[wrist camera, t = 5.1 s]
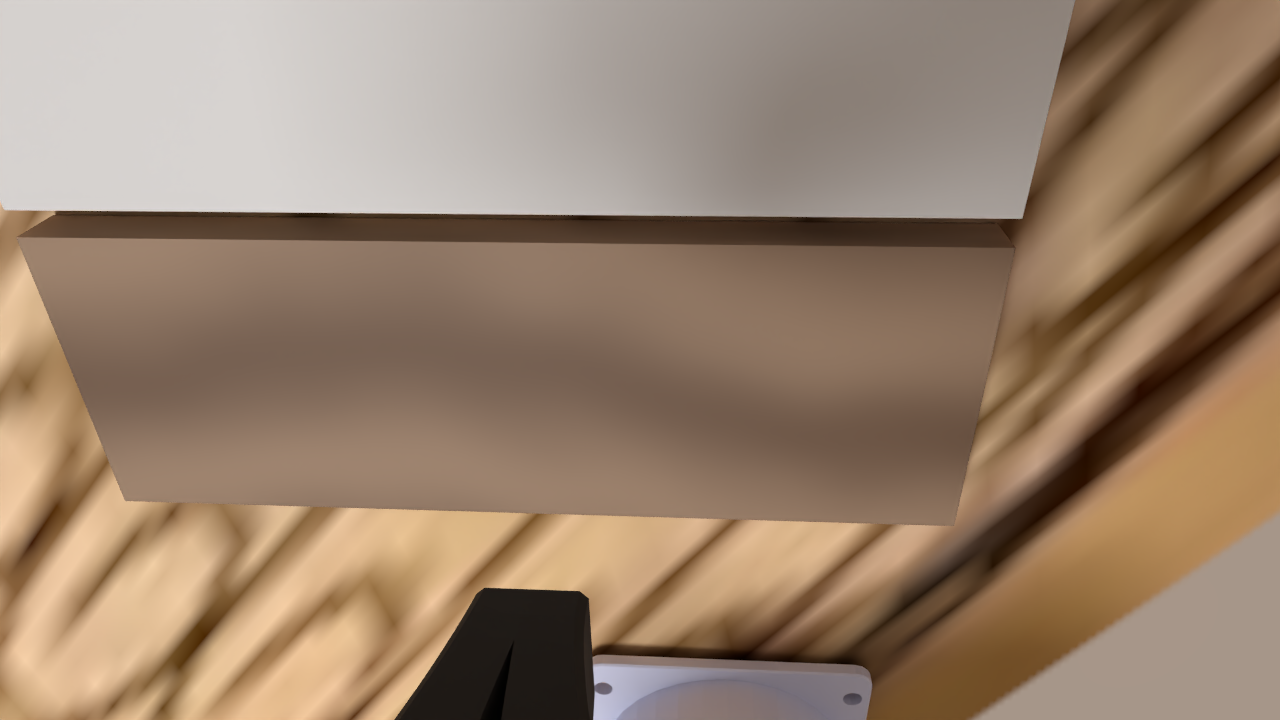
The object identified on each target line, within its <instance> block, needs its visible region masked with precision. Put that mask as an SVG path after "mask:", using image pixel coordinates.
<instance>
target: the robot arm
mask: <svg viewBox="0 0 1280 720" xmlns="http://www.w3.org/2000/svg"><path fill="white" fill-rule="evenodd" d="M602 682H604V683H602ZM871 691H872V681H871V676H870V673H869V671H868V670H867V669H866V668H864V667H862V666H858V665H847V664H823V663H798V662H773V661H748V660H724V659H699V658H674V657H649V656H625V655H597V656H594V657H592V642H591V627H590V612H589V598H587V597H586V596H585V595H584V594H582V593H581V592H580V591H556V590H528V589H500V588H484V589H482V590H481V591H480V592H479V593H477V594H476V596H475V598H474V599H473V601H472V603H471V605H470V606H469V608H468V610H467V612H466V613H465V615H464V617H463V618H462V620H461V621H460V623H459V625H458V626H457V628H456V630H455V631H454V633H453V634H452V636H451V638H450V639H449V641H448V642H447V644H446V646H445V647H444V649H443V650H442V652H441V653H440V655H439V656H438V658H437V659H436V661H435V662H434V664H433V665H432V667H431V668H430V670H429V671H428V673H427V674H426V676H425V677H424V679H423V680H422V682H421V683H420V685H419V686H418V687H417V689H416V690H415V692H414V693H413V694H412V696H411V697H410V699H409V700H408V702H407V703H406V704H405V706H404V707H403V709H402V710H401V711H400V713H399V714H398V716H397V717H396V718H395V720H866V719H867V713H868V708H869V702H870V697H871ZM849 693H851V694H849Z"/></svg>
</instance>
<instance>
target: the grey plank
mask: <svg viewBox="0 0 1280 720" xmlns="http://www.w3.org/2000/svg"><path fill="white" fill-rule="evenodd" d="M1074 3H1075V0H0V202H1V204H2V206H3V208H4V210H52V211H169V212H285V213H402V214H519V215H635V216H752V217H869V218H985V219H1022V218H1023V214H1024V210H1025V205H1026V201H1027V197H1028V193H1029V189H1030V185H1031V181H1032V177H1033V172H1034V168H1035V164H1036V160H1037V156H1038V152H1039V148H1040V144H1041V139H1042V135H1043V131H1044V127H1045V123H1046V119H1047V115H1048V111H1049V106H1050V102H1051V98H1052V94H1053V90H1054V86H1055V82H1056V78H1057V74H1058V69H1059V65H1060V61H1061V57H1062V53H1063V49H1064V45H1065V41H1066V36H1067V32H1068V28H1069V24H1070V20H1071V16H1072V12H1073V8H1074Z"/></svg>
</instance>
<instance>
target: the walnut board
mask: <svg viewBox="0 0 1280 720" xmlns="http://www.w3.org/2000/svg"><path fill="white" fill-rule="evenodd" d="M16 238H17V240H18V243H19V245H20V248H21V250H22V252H23V255H24V257H25V260H26V262H27V264H28V267H29V269H30V272H31V274H32V277H33V279H34V281H35V284H36V286H37V289H38V291H39V294H40V296H41V298H42V301H43V303H44V306H45V308H46V310H47V313H48V315H49V318H50V320H51V323H52V325H53V327H54V330H55V332H56V335H57V337H58V340H59V342H60V344H61V347H62V349H63V352H64V354H65V356H66V359H67V361H68V364H69V366H70V369H71V371H72V373H73V376H74V378H75V381H76V383H77V386H78V388H79V390H80V393H81V395H82V398H83V400H84V402H85V405H86V407H87V410H88V412H89V415H90V417H91V419H92V422H93V424H94V427H95V429H96V432H97V434H98V436H99V439H100V441H101V444H102V446H103V448H104V451H105V453H106V456H107V458H108V461H109V463H110V465H111V468H112V470H113V473H114V475H115V478H116V480H117V482H118V485H119V487H120V490H121V492H122V494H123V497H124V499H125V501H145V502H178V503H211V504H244V505H277V506H310V507H343V508H376V509H409V510H442V511H475V512H508V513H541V514H574V515H607V516H640V517H673V518H706V519H739V520H772V521H805V522H838V523H871V524H904V525H937V526H954V524H955V519H956V515H957V510H958V506H959V501H960V497H961V492H962V488H963V483H964V479H965V474H966V470H967V465H968V461H969V456H970V452H971V447H972V443H973V438H974V433H975V429H976V424H977V420H978V415H979V411H980V406H981V402H982V397H983V393H984V388H985V384H986V379H987V375H988V370H989V366H990V361H991V357H992V352H993V348H994V343H995V338H996V334H997V329H998V325H999V320H1000V316H1001V311H1002V307H1003V302H1004V298H1005V293H1006V289H1007V284H1008V280H1009V275H1010V271H1011V266H1012V262H1013V257H1014V253H1015V247H1014V245H1013V244H1012V242H1011V241H1010V240H1009V238H1008V237H1007V236H1006V234H1005V233H1004V231H1003V230H1002V229H1001V227H1000V226H999V225H998V224H981V223H869V222H757V221H644V220H533V219H420V218H308V217H196V216H84V215H53V216H51V217H49V218H48V219H46V220H44V221H43V222H41V223H39V224H38V225H36V226H34V227H33V228H31V229H29V230H28V231H26V232H24V233H23V234H21V235H19V236H18V237H16Z"/></svg>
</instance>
